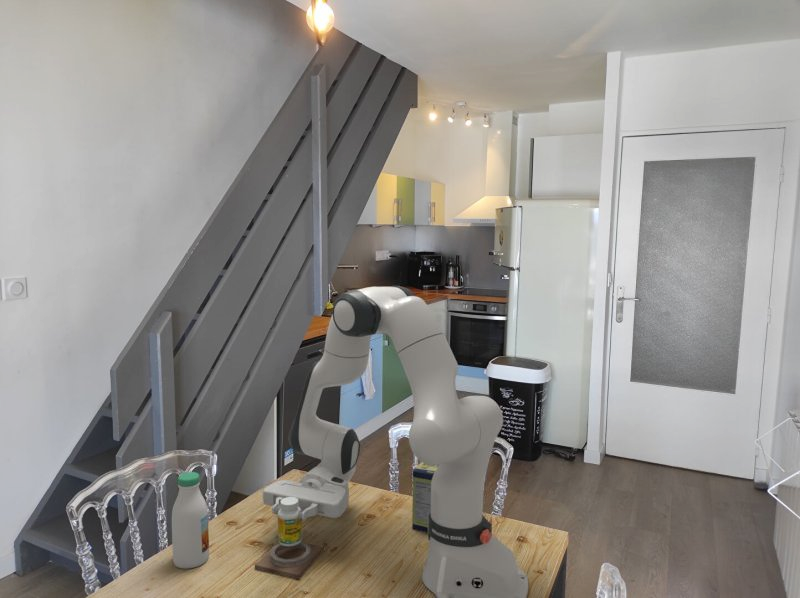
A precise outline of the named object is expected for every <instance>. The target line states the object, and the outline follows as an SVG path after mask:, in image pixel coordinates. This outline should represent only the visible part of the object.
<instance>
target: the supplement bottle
mask: <svg viewBox="0 0 800 598" xmlns="http://www.w3.org/2000/svg"><path fill="white" fill-rule="evenodd" d="M298 505H299V503H298V499H297V498H295V497H286V498H284V499H282V500H281V502H280V507H281V509H280V510H279V511H278V514H277V534H278V535H277V541H278V543H280V544H281V545H283V546H295V545H297V544H299V543H300V542H301V541H303V520H302V519H298V512H299V511H300V510H301V509H300V508H299V507H298Z"/></svg>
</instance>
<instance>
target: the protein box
mask: <svg viewBox="0 0 800 598" xmlns="http://www.w3.org/2000/svg"><path fill="white" fill-rule="evenodd" d="M438 466H439V465H433V466H432V465H427V464H424V463H423V462H421V461H420V463H419V464H418V465H416V467H415V468H414V469H413V470H412V507H411V508H412V511H411V512H412V513H411V514H412V518H411V519H412V520H411V523H412V526H411V528H412V530H416V531H419V532H425V533H428V518H429V514H430V513H431V481H432V477H433V475H434V473H435V471H436V470H437V468H438Z"/></svg>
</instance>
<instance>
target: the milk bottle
mask: <svg viewBox="0 0 800 598" xmlns="http://www.w3.org/2000/svg"><path fill="white" fill-rule="evenodd" d="M200 480H201V479H200V474H199V473H198V472H195V471H187V472H184V473H181V474H179V475H178V477H177V487H178V493H177V497H176V499H175V502H174V504H173V506H172V511H171V542H172V544H171V545H172V560H173V561H172V562H173V564H174V566H175V567H176V568H179V569H183V570H184V569H186V570H187V569H194V568H197V567H199V566H201V565H204V564H205V563H206V562H207V561H208V560H209V556H210V543H209V542H210V540H209V514H208V513H209V511H208V506H207V502H206V500H205V498H204V496H203V495H202V493H201V490H200V487H199V486H200V485H201V484H200Z"/></svg>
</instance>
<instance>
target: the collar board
mask: <svg viewBox="0 0 800 598" xmlns="http://www.w3.org/2000/svg"><path fill="white" fill-rule="evenodd" d="M324 552H325V546H321V545H316V544H312V543H308V542H306V541H303V540H301V542H300V543H299V544H297V545H295V546H283V545H281V544H280V543H279V542H277V543H276V544H275V545H274V546H272V548H270V550H269V551H268V552H267V553H266V554H265V555H264V556H263V557H261V558H260V559H259V560H258V561H257V562H256V563H255V564H254V570H257V571H261V572H266V573H270V574H273V575H277V576H282V577H287V578H291V579H296V580H300V579H301V577H303V575H305V573H306V572H307V571H308V570H309V569H310V567H311V566H312V565H313V564H315V562H316V561H317V560H318V559H319V558H320V557H321V556H322V554H323V553H324ZM299 578H300V579H299Z"/></svg>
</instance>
